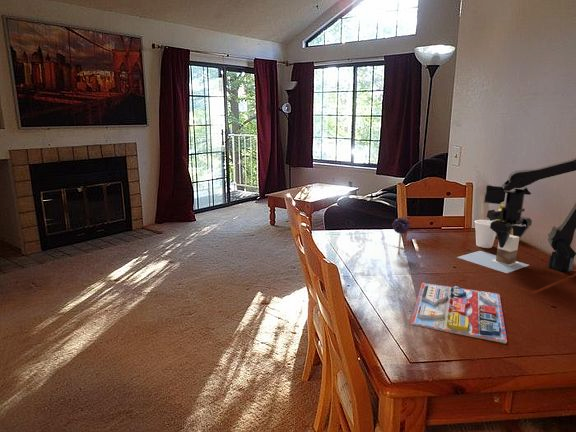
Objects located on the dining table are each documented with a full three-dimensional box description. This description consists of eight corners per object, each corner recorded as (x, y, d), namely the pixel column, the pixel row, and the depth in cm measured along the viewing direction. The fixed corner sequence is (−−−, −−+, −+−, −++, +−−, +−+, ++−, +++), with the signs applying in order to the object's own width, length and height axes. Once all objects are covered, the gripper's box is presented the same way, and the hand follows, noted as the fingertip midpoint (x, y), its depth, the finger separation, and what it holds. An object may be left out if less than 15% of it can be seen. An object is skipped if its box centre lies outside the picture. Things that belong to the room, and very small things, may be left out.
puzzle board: (421, 285, 137) (422, 278, 136) (498, 298, 128) (500, 290, 128) (409, 326, 110) (410, 317, 109) (506, 346, 101) (508, 336, 100)
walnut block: (515, 262, 157) (517, 249, 156) (508, 264, 155) (510, 251, 153) (502, 258, 161) (504, 246, 160) (495, 260, 159) (497, 248, 158)
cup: (501, 251, 173) (504, 225, 170) (477, 250, 173) (480, 225, 170) (490, 243, 182) (493, 219, 180) (467, 243, 183) (470, 219, 180)
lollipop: (405, 251, 170) (409, 216, 166) (408, 256, 163) (412, 220, 160) (388, 250, 170) (391, 215, 167) (391, 256, 164) (394, 219, 160)
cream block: (517, 249, 156) (519, 236, 155) (510, 251, 154) (512, 238, 152) (504, 246, 160) (506, 233, 159) (497, 248, 158) (499, 235, 156)
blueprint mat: (529, 266, 155) (529, 264, 155) (506, 274, 146) (506, 273, 146) (479, 252, 171) (479, 250, 171) (456, 258, 162) (456, 257, 162)
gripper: (506, 199, 164) (500, 236, 168) (479, 203, 154) (474, 243, 158) (535, 204, 156) (528, 243, 159) (508, 209, 145) (502, 251, 149)
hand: (508, 245), depth 157 cm, fingers open, 9 cm apart
